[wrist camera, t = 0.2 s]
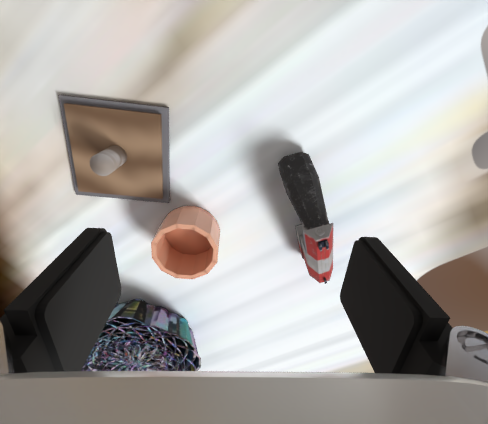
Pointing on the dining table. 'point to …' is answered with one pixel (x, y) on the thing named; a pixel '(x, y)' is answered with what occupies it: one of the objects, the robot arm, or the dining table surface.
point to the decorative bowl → (144, 341)
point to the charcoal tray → (124, 106)
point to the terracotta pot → (186, 243)
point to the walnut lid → (116, 150)
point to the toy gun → (309, 214)
